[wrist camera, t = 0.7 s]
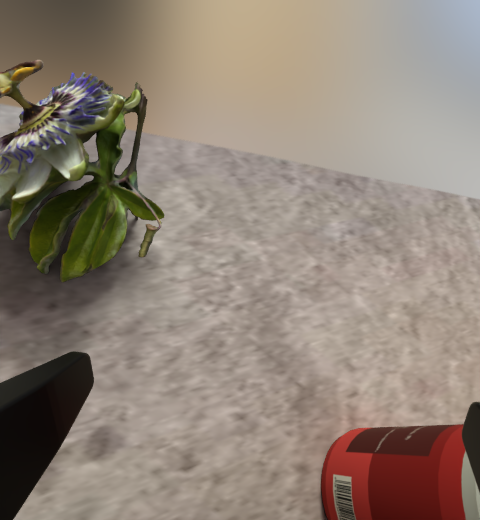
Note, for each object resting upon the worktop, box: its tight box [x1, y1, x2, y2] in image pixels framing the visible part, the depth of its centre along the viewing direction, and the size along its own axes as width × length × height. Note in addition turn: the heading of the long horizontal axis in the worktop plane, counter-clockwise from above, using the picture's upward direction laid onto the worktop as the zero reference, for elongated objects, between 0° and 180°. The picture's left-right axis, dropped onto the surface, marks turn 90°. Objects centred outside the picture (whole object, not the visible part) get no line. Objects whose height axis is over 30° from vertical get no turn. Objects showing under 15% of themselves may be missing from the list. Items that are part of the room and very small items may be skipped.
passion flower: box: [0, 60, 164, 282], centre depth 21 cm, size 11×11×12 cm
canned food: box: [321, 424, 480, 520], centre depth 18 cm, size 8×8×11 cm
